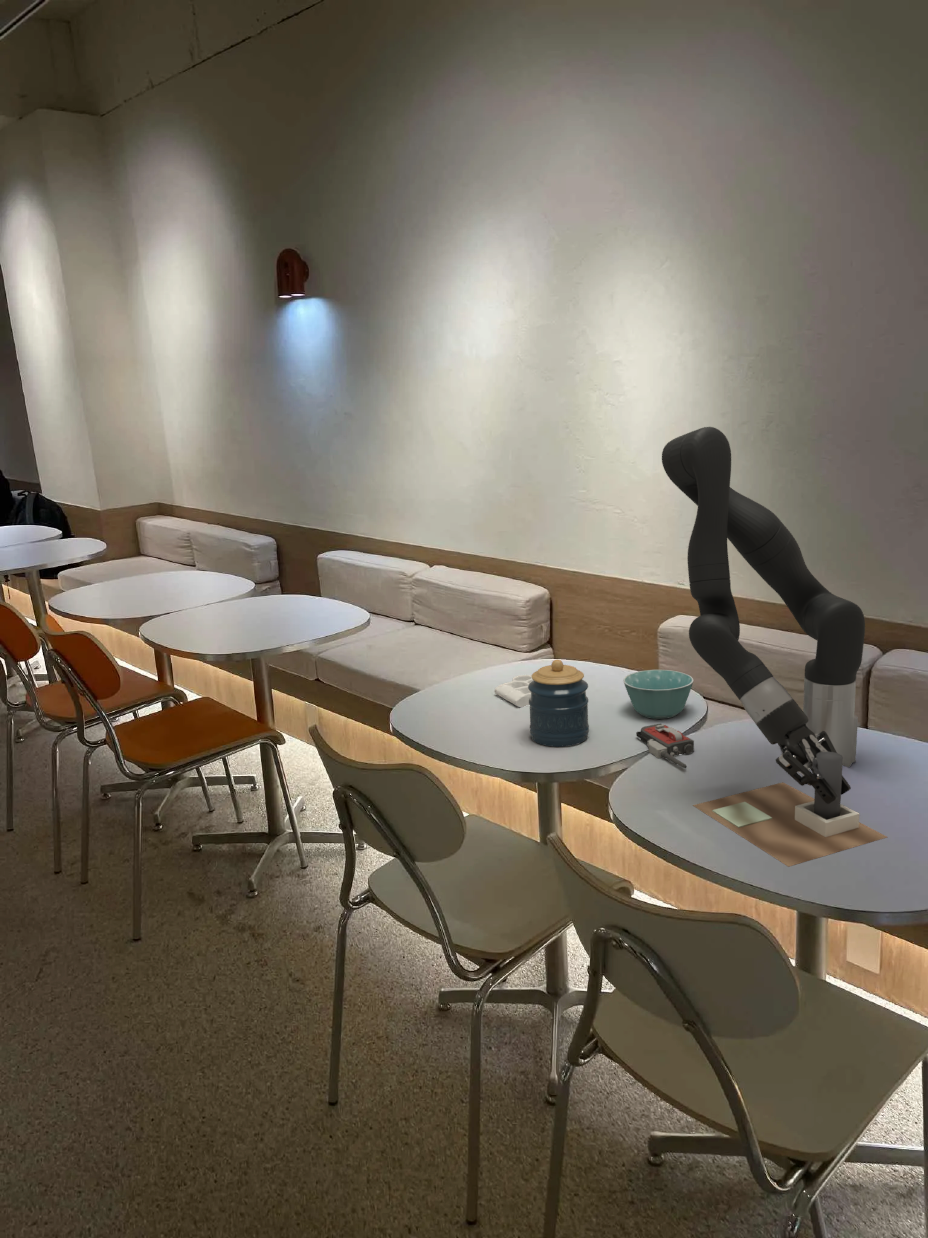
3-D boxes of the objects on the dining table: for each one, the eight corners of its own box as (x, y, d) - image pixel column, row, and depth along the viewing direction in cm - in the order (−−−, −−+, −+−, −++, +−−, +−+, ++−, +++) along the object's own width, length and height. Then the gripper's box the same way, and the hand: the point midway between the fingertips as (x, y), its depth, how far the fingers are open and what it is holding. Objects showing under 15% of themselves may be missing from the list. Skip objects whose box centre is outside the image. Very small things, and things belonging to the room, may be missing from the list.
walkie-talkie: (627, 741, 194) (680, 774, 176) (627, 721, 193) (680, 753, 175) (662, 734, 197) (718, 766, 179) (662, 715, 196) (718, 745, 178)
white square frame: (827, 810, 154) (827, 797, 153) (858, 827, 147) (859, 813, 147) (794, 819, 151) (795, 806, 151) (825, 837, 145) (826, 823, 144)
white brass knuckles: (489, 694, 230) (538, 683, 236) (523, 714, 214) (575, 702, 220) (488, 681, 229) (538, 671, 235) (522, 700, 213) (575, 689, 219)
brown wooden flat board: (782, 789, 166) (783, 781, 166) (887, 845, 144) (887, 836, 144) (692, 813, 159) (692, 804, 158) (788, 875, 137) (788, 865, 137)
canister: (551, 752, 189) (548, 672, 185) (518, 734, 200) (515, 658, 196) (601, 739, 195) (599, 661, 191) (567, 722, 206) (565, 648, 202)
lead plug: (826, 816, 152) (830, 749, 149) (844, 825, 148) (848, 758, 145) (808, 821, 150) (811, 754, 148) (825, 831, 147) (829, 763, 144)
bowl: (610, 715, 209) (609, 681, 207) (649, 697, 220) (649, 665, 218) (668, 730, 198) (668, 694, 196) (706, 710, 209) (706, 676, 207)
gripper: (766, 710, 145) (835, 800, 139) (809, 688, 155) (876, 772, 149) (736, 733, 150) (802, 821, 145) (779, 710, 160) (843, 793, 154)
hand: (839, 796), depth 147 cm, fingers closed on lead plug, 4 cm apart
